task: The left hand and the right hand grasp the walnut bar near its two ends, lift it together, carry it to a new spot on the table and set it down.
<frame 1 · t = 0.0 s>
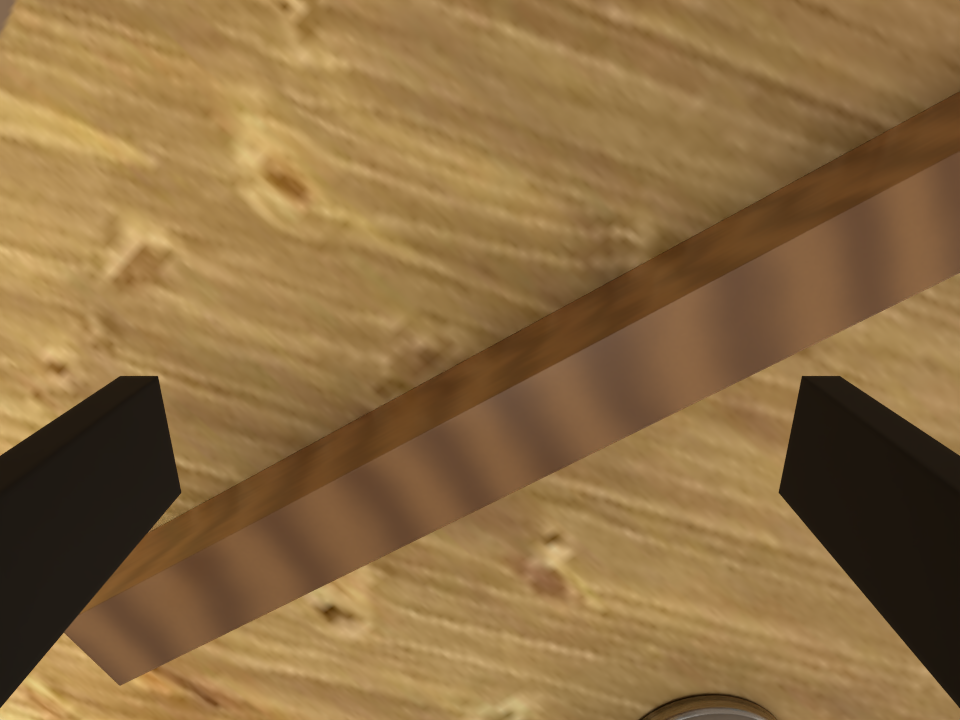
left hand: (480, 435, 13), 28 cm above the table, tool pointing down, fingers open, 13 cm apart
bar: (536, 368, 42), on the table
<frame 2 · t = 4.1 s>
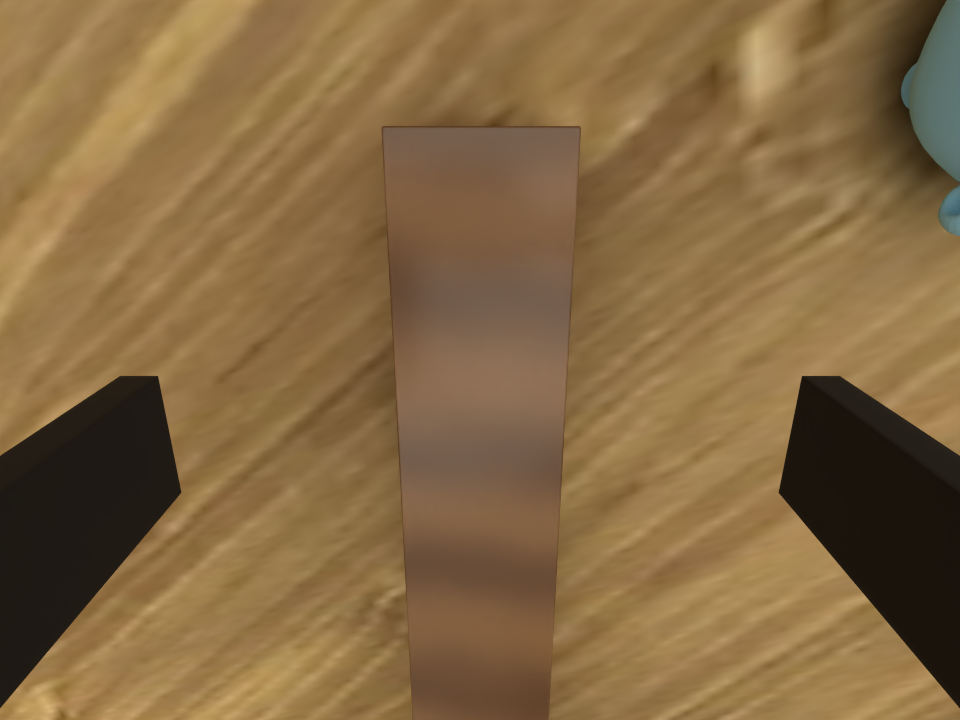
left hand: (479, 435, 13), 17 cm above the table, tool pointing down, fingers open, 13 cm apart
bar: (480, 715, 38), on the table, touching right hand
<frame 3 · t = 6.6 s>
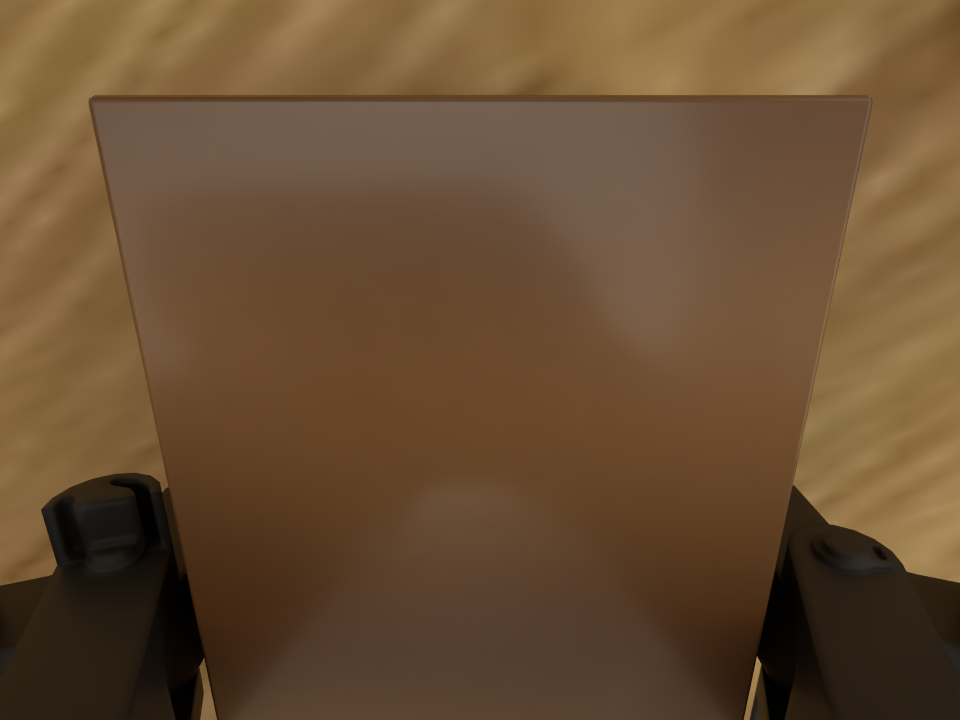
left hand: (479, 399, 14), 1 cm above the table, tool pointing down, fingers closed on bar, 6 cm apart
when the left hand's fingers open (2 cm above the table, at t = 12.4 s): bar drops 1 cm, on the table.
when the right hand's fingers open (2 cm above the table, at t = 12.4 s): bar drops 1 cm, on the table.
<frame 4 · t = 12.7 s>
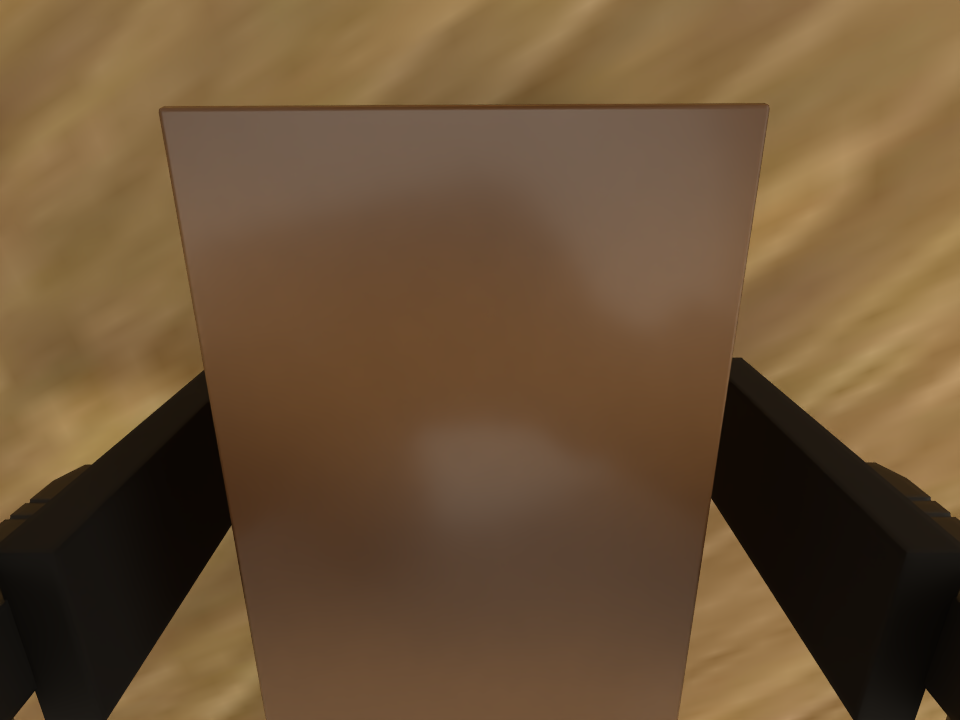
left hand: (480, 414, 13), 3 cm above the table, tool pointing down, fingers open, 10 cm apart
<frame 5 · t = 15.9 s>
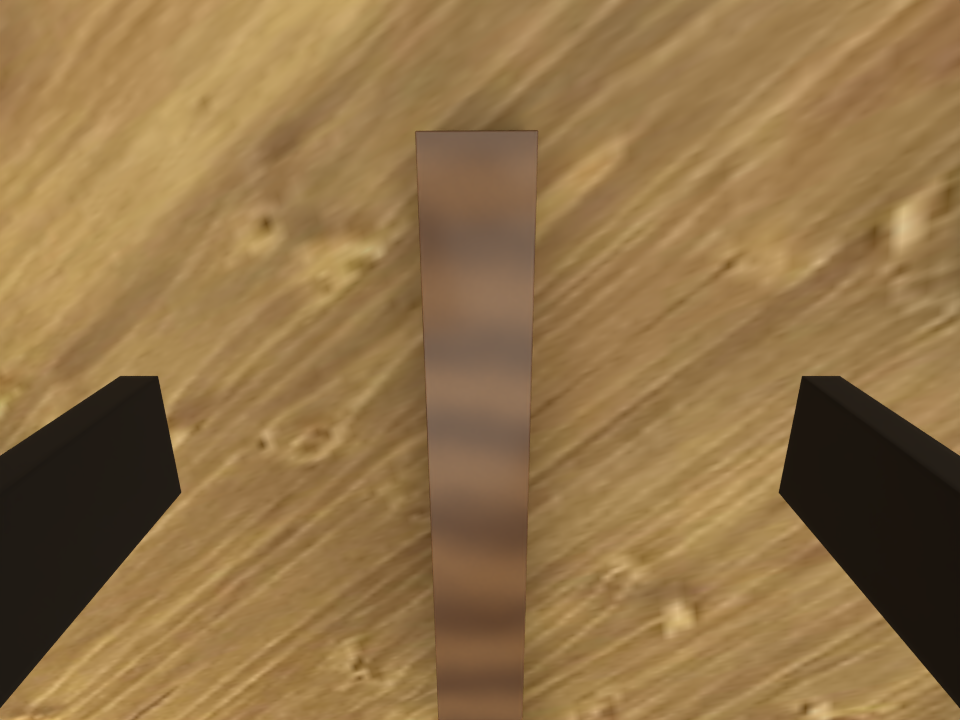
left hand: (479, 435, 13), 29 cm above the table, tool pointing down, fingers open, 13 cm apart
bar: (480, 583, 49), on the table
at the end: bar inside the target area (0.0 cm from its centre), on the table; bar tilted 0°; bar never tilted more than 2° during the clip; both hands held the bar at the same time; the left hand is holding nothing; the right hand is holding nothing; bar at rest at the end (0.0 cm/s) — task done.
